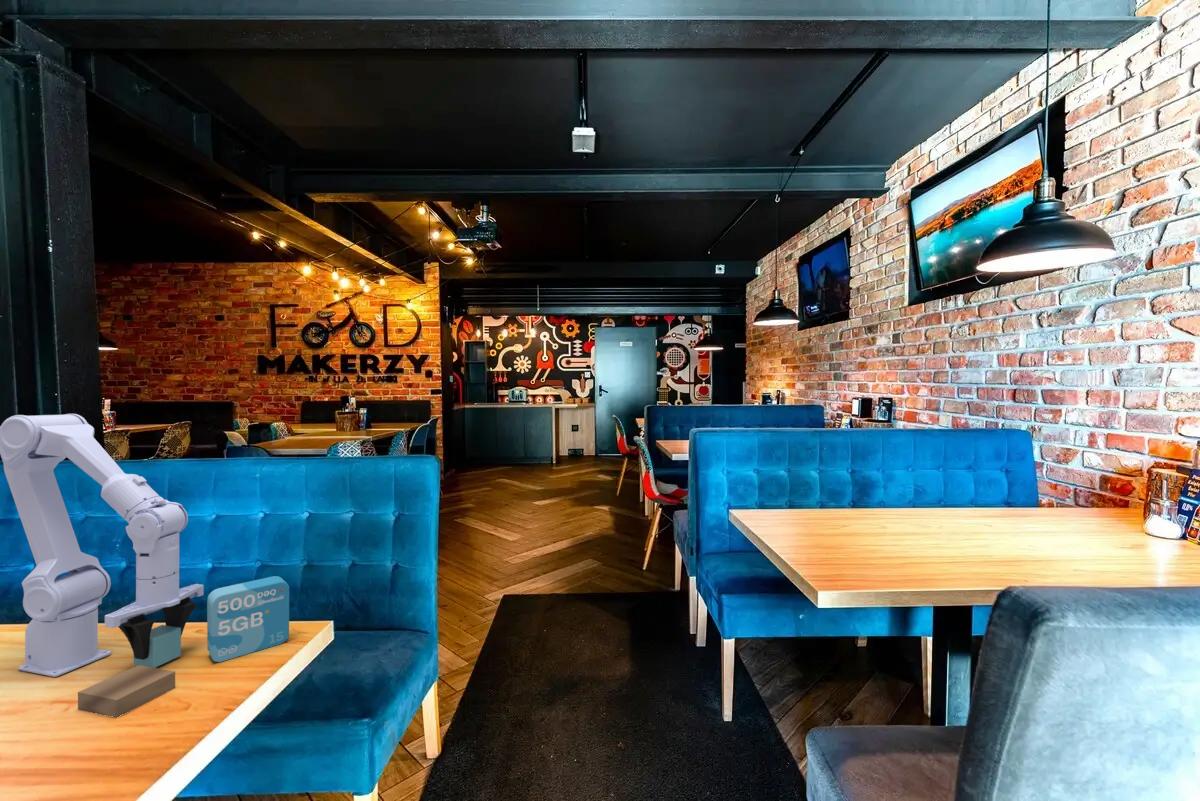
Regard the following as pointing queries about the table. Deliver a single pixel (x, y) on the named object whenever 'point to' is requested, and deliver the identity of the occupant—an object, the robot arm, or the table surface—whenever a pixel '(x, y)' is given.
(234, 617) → the data package
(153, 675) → the walnut block
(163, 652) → the teal block
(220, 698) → the table surface
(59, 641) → the robot arm
